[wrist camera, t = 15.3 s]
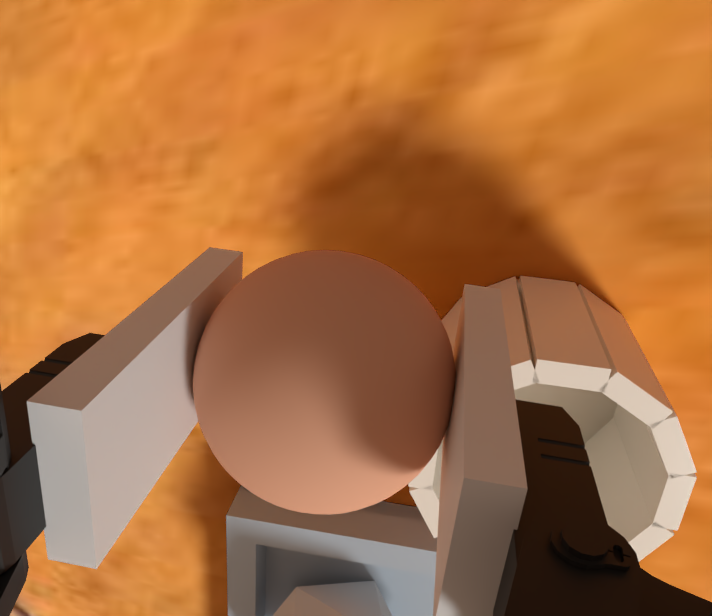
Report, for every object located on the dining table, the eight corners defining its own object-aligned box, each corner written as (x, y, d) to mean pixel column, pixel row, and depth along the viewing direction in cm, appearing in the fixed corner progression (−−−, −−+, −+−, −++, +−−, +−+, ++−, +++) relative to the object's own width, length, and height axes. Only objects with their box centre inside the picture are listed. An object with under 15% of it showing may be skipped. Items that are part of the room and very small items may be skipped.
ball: (243, 206, 14) (139, 286, 9) (473, 236, 13) (481, 336, 9) (238, 403, 16) (150, 548, 11) (439, 435, 15) (431, 600, 11)
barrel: (437, 265, 29) (426, 344, 22) (662, 292, 28) (729, 385, 21) (414, 443, 33) (398, 559, 26) (610, 473, 32) (651, 604, 25)
